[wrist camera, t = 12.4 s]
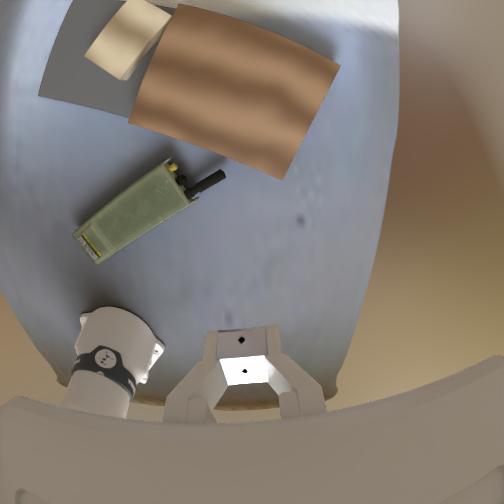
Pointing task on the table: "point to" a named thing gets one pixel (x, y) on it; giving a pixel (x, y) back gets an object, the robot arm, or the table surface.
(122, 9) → the tile
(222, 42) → the platform
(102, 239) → the handheld radio
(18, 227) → the table surface
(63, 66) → the mat
